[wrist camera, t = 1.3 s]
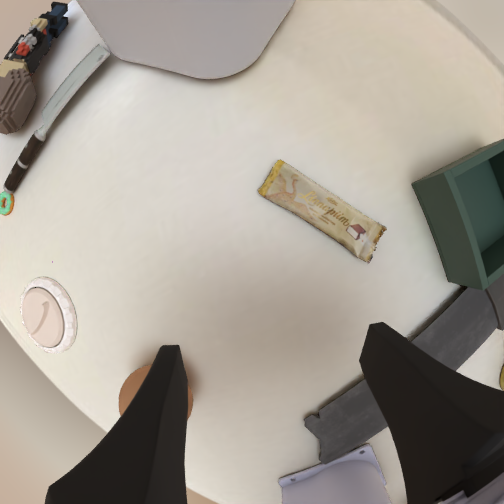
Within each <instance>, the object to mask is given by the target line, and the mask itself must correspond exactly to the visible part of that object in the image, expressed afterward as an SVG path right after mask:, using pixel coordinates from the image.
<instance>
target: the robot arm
mask: <svg viewBox="0 0 504 504" xmlns="http://www.w3.org/2000/svg"><path fill="white" fill-rule="evenodd" d="M359 362H360V365H361V368H362V371H363V374H364V377H365V379H366V382H367V384H368V386H369V388H370V390H371V392H372V394H373V396H374V398H375V400H376V402H377V404H378V406H379V408H380V410H381V412H382V414H383V416H384V418H385V420H386V422H387V424H388V427H389V429H390V431H391V434H392V437H393V440H394V443H395V446H396V450H397V453H398V457H399V460H400V464H401V468H402V472H403V477H404V482H405V488H406V494H407V502H408V504H438V503H439V502H441V501H443V502H442V503H440V504H504V391H502V390H498V389H495V388H492V387H489V386H486V385H484V384H481V383H479V382H477V381H474V380H472V379H470V378H468V377H465V376H464V375H462V374H460V373H458V372H456V371H454V370H452V369H450V368H449V367H447V366H445V365H444V364H442V363H441V362H439V361H437V360H436V359H434V358H433V357H431V356H430V355H428V354H427V353H425V352H424V351H423V350H421V349H420V348H418V347H417V346H416V345H414V344H413V343H411V342H410V341H409V340H407V339H406V338H405V337H403V336H402V335H401V334H399V333H398V332H397V331H395V330H394V329H392V328H391V327H390V326H388V325H387V324H385V323H384V322H380V323H374V324H370V325H369V329H368V332H367V336H366V339H365V343H364V346H363V349H362V353H361V356H360V359H359ZM187 416H188V380H187V376H186V372H185V368H184V364H183V360H182V355H181V351H180V347H179V345H163V346H162V347H160V349H159V352H158V354H157V356H156V358H155V360H154V362H153V364H152V366H151V368H150V370H149V372H148V374H147V375H146V377H145V379H144V381H143V382H142V384H141V386H140V388H139V390H138V391H137V393H136V394H135V396H134V398H133V399H132V401H131V402H130V404H129V405H128V407H127V408H126V410H125V411H124V413H123V414H122V416H121V417H120V418H119V420H118V421H117V422H116V424H115V425H114V426H113V427H112V429H111V430H110V431H109V432H108V434H107V435H106V436H105V437H104V438H103V439H102V440H101V442H100V443H99V444H98V445H97V446H96V447H95V448H94V449H93V450H92V451H91V452H90V453H89V454H88V455H87V456H86V457H85V458H84V459H83V460H82V461H81V462H80V463H78V464H77V465H76V466H75V467H74V468H73V469H72V470H70V472H68V473H67V474H65V475H64V476H63V477H61V478H60V479H59V480H57V481H56V482H55V483H53V484H52V485H50V486H49V489H48V492H47V495H46V499H45V504H187V495H186V483H185V466H184V459H185V442H186V429H187ZM362 450H363V451H362ZM360 451H362V452H360ZM292 478H295V479H292ZM278 482H279V485H280V486H281V487H282V504H392V502H391V500H390V497H389V495H388V493H387V491H386V489H385V485H386V481H385V478H384V476H383V473H382V471H381V468H380V466H379V464H378V461H377V459H376V456H375V454H374V451H373V449H372V447H371V445H370V444H366V445H364V446H362V447H359V448H357V449H355V450H353V451H351V452H349V453H346V454H344V455H342V456H340V457H338V458H337V459H335V460H333V461H331V462H329V463H328V464H326V465H325V464H320V465H317V466H315V467H312V468H309V469H307V470H304V471H301V472H298V473H295V474H292V475H289V476H286V477H283V478H280V479H279V481H278Z"/></svg>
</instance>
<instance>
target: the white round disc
mask: <svg viewBox="0 0 504 504" xmlns="http://www.w3.org/2000/svg"><path fill="white" fill-rule="evenodd" d="M33 287H38V288H34V289H31V288H33ZM41 287H43V288H41ZM29 289H31V290H30V291H28V290H29ZM27 291H28V292H27ZM25 294H26V295H25ZM24 296H25V297H24ZM20 312H21V313H22V318H23V320H22V322H23V325H24V326H25V327H26V329H27V334H28V336H29V337H30V338H32V339H33V341H34V342H35V344H36V346H38V347H40V348H42V349H44V351H45V352H48V353H60V352H63V351H65V350H67V349H69V348H70V347H71V345H72V344H73V342H74V340H75V337H76V332H77V319H76V314H75V310H74V307H73V304H72V302H71V300H70V297H69V296H68V294H67V293H66V291H65V290H64V289H63V288H62V286H61V285H60V284H58V283H57V282H56V281H54V280H52V279H50V278H46V277H40V278H37V279H35V280H33V281H31V282H30V283H29V284H27V285H26V286H25V290H24V292H23V294H22V295H21V307H20ZM60 342H61V343H60ZM59 343H60V344H59ZM57 344H59V345H58V346H56V347H54V348H46V347H53V346H55V345H57ZM43 346H45V347H43Z"/></svg>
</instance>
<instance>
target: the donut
mask: <svg viewBox="0 0 504 504" xmlns="http://www.w3.org/2000/svg"><path fill="white" fill-rule="evenodd" d="M5 199H7V205H6V207H4V200H5ZM13 206H14V197H13V195H12V193H11V194H8V193H6V192H5V191H4V192H2V193H1V194H0V214H2V215H8V214H10V213H11V211H12V209H13ZM52 262H53V261H52Z"/></svg>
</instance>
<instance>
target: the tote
mask: <svg viewBox="0 0 504 504" xmlns="http://www.w3.org/2000/svg"><path fill="white" fill-rule="evenodd" d="M412 186H413V189H414V191H415V193H416V195H417V198H418V200H419V202H420V205H421V207H422V209H423V212H424V214H425V217H426V219H427V222H428V224H429V227H430V229H431V232H432V235H433V237H434V240H435V243H436V245H437V248H438V251H439V254H440V257H441V260H442V263H443V266H444V269H445V272H446V276H447V279H448V282H452V283H455V284H459V285H463V286H467V287H471V288H475V289H479V290H485V289H486V288H487V287H488V286H489V285H491V284H492V283H493V282H494V281H495V280H497V279H498V278H499V277H500V276H501V275H502V274H504V139H502V140H499V141H497V142H494V143H492V144H489V145H487V146H484V147H482V148H480V149H479V150H477V151H475V152H473V153H471V154H469V155H467V156H465V157H463V158H461V159H459V160H457V161H455V162H453V163H451V164H449V165H447V166H445V167H443V168H441V169H440V170H438V171H436V172H434V173H432V174H430V175H428V176H426V177H424V178H422V179H420V180H418V181H416V182H414V183H412Z"/></svg>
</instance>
